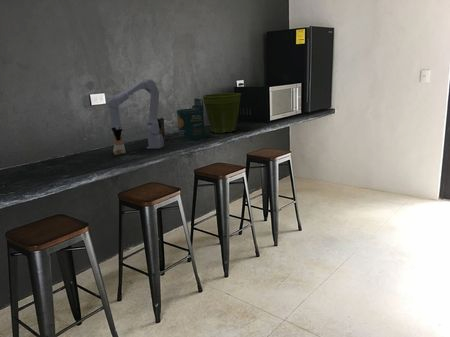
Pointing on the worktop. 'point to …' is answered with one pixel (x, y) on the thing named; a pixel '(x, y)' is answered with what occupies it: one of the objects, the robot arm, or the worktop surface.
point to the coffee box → (161, 127)
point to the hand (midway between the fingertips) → (117, 139)
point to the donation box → (191, 122)
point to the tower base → (118, 151)
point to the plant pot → (222, 111)
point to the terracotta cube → (118, 141)
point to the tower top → (119, 147)
